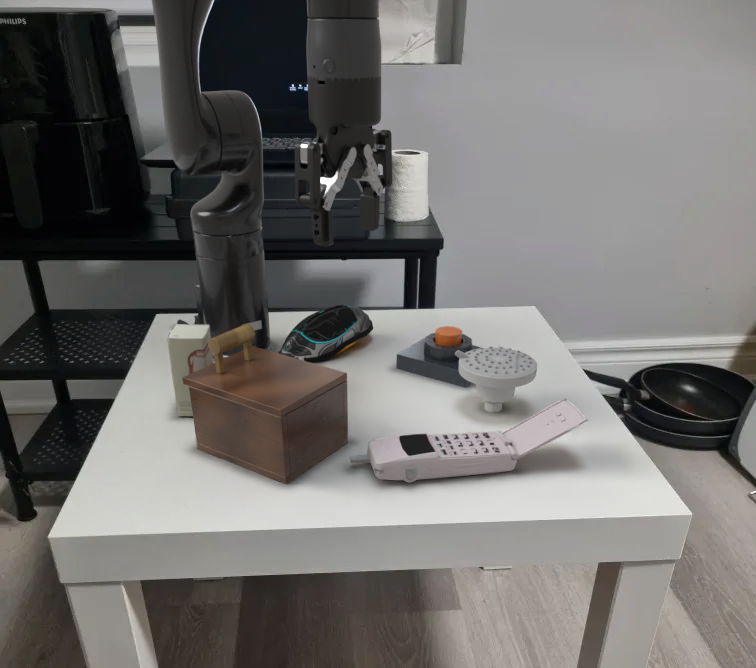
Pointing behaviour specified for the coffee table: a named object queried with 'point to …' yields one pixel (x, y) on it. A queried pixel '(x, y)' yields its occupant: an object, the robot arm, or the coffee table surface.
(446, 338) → the button
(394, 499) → the coffee table surface
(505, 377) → the showerhead
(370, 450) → the mobile phone
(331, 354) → the computer mouse
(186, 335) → the off-white upright block
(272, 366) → the lid
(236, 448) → the chest
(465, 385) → the control block
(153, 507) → the coffee table surface
